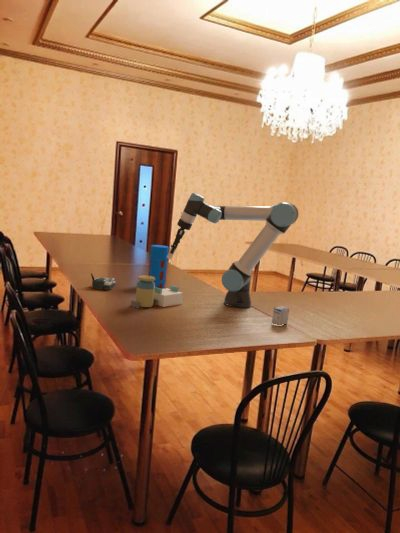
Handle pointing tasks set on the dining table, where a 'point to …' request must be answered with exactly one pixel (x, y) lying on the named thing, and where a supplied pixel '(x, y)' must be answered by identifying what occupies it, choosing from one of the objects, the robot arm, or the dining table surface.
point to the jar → (145, 291)
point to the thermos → (158, 264)
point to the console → (164, 297)
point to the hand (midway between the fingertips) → (170, 255)
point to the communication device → (103, 282)
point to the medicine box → (280, 315)
